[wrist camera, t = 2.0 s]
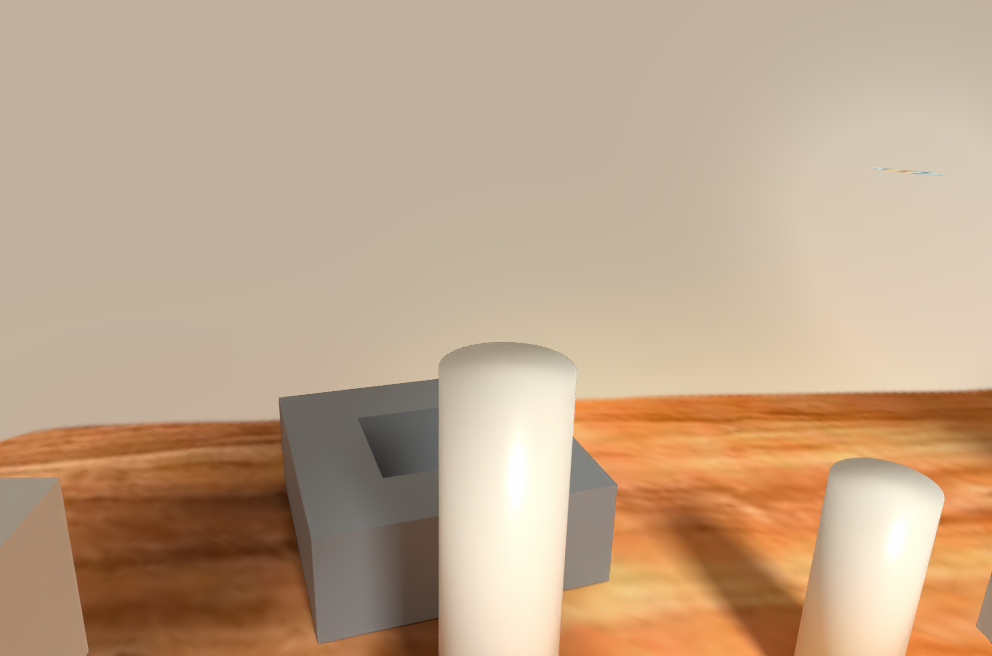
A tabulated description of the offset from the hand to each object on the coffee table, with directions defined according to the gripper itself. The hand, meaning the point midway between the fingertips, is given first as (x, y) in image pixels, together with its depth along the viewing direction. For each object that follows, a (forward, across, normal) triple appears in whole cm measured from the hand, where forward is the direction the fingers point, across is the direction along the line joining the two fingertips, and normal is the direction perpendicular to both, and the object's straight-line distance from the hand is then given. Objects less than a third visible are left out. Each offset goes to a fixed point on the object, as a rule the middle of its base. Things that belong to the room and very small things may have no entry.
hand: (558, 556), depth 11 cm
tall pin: (+10, 0, -16) cm, 19 cm away
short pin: (+14, +14, -16) cm, 25 cm away
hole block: (+25, -2, -16) cm, 30 cm away
